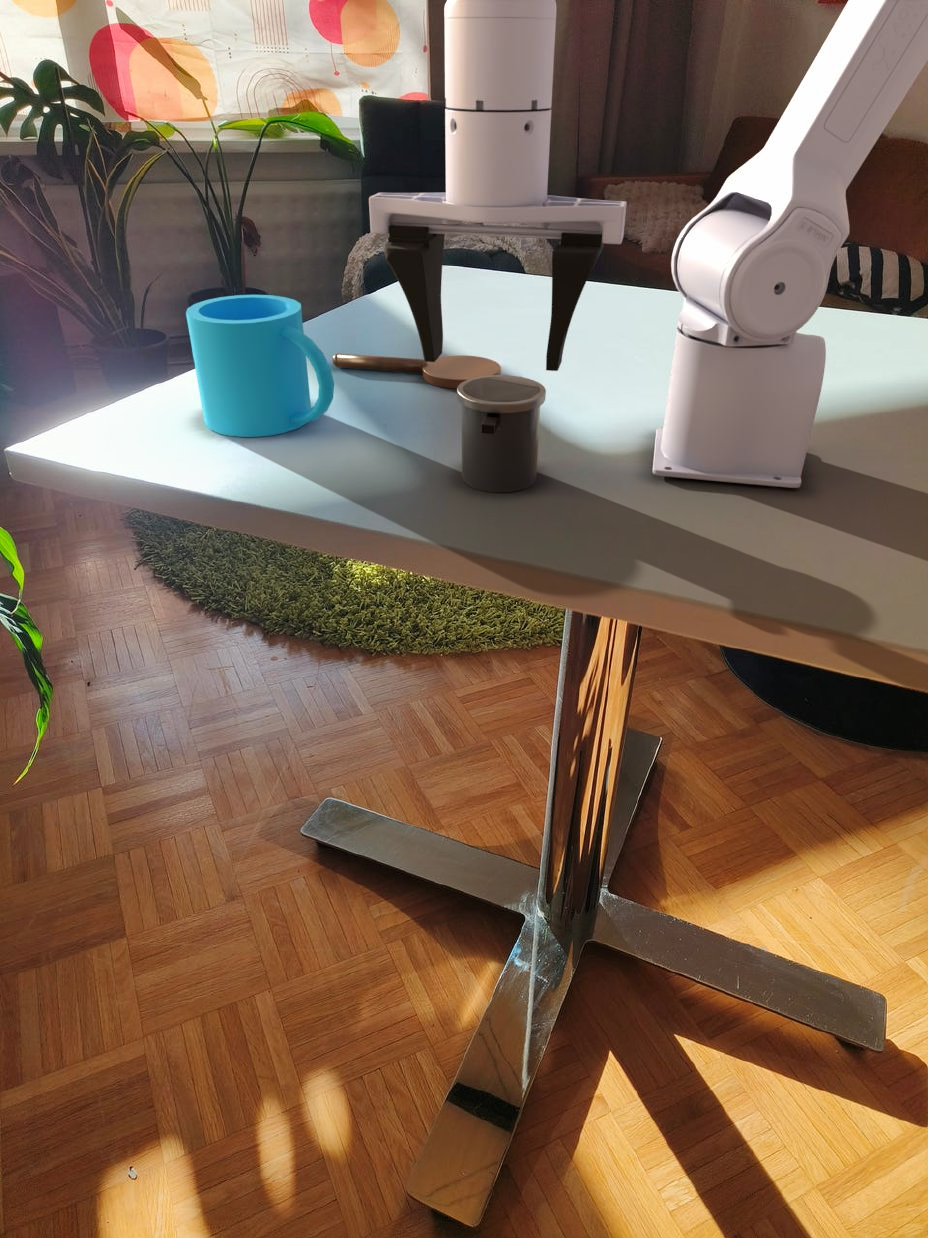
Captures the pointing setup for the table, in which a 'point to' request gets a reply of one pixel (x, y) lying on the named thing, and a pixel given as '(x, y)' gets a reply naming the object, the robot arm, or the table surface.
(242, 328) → the mug
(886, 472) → the table surface
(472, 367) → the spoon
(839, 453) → the table surface
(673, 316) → the table surface
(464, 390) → the pot
